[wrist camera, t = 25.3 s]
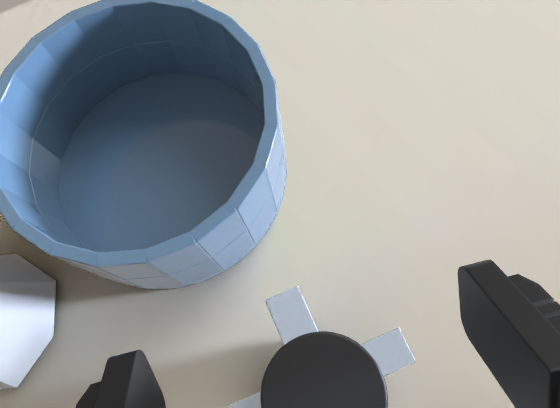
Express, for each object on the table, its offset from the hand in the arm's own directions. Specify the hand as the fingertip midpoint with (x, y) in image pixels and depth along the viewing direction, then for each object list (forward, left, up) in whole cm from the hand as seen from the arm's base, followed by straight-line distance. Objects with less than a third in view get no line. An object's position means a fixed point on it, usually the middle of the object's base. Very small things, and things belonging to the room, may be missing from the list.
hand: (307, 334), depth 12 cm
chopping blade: (0, -2, -13) cm, 13 cm away
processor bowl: (-7, +10, -13) cm, 18 cm away
